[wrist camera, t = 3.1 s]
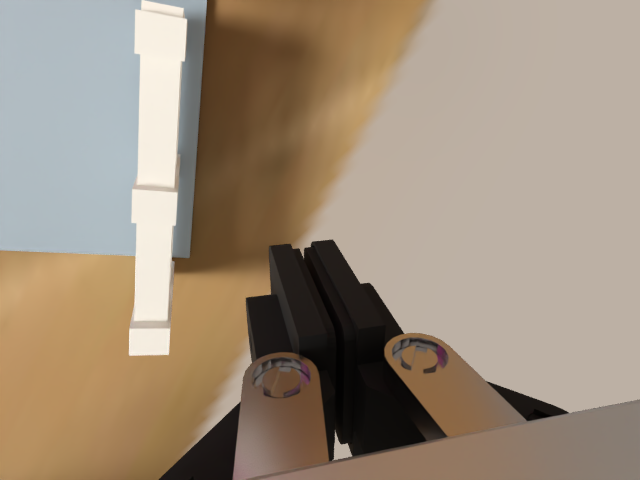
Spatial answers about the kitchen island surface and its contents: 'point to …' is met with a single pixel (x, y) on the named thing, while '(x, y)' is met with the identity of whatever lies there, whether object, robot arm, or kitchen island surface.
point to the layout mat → (83, 125)
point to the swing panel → (156, 172)
